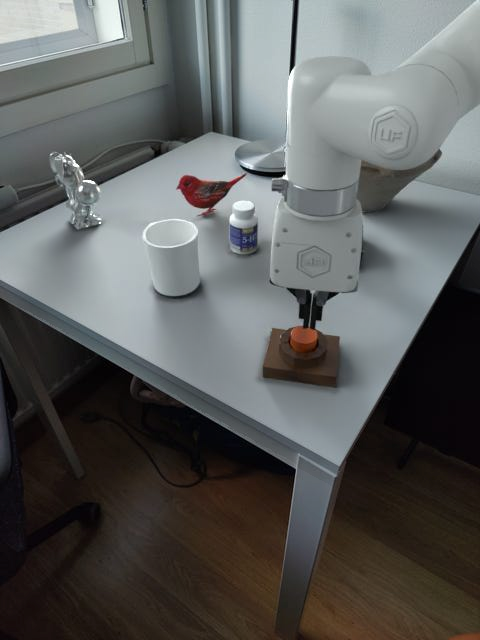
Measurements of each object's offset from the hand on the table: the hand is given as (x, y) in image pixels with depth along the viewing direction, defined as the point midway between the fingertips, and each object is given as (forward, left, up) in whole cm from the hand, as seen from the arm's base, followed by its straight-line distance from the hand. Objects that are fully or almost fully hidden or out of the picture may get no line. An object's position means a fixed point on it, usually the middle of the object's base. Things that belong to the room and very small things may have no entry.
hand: (309, 322), depth 61 cm
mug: (+25, -15, -8) cm, 30 cm away
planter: (-8, -50, -8) cm, 52 cm away
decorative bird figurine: (+24, -41, -8) cm, 48 cm away
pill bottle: (+15, -28, -8) cm, 33 cm away
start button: (+1, 0, -4) cm, 4 cm away
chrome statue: (+49, -31, -8) cm, 58 cm away
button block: (+1, 0, -8) cm, 8 cm away
